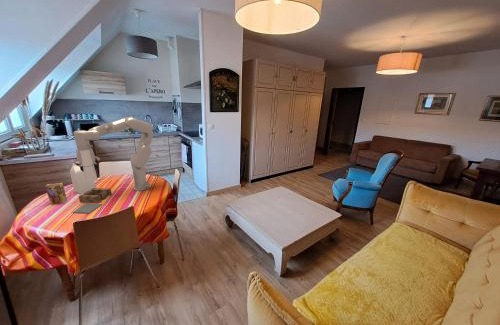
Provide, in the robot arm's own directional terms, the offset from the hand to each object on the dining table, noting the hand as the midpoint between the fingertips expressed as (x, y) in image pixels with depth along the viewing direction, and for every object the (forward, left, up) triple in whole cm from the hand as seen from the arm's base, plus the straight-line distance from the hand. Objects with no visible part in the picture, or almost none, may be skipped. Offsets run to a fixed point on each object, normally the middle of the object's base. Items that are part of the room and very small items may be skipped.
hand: (89, 169), depth 151 cm
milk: (+21, -14, -25) cm, 35 cm away
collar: (+1, -1, -25) cm, 25 cm away
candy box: (+23, +8, -25) cm, 34 cm away
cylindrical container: (0, 0, -9) cm, 9 cm away
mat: (-5, +15, -25) cm, 29 cm away
